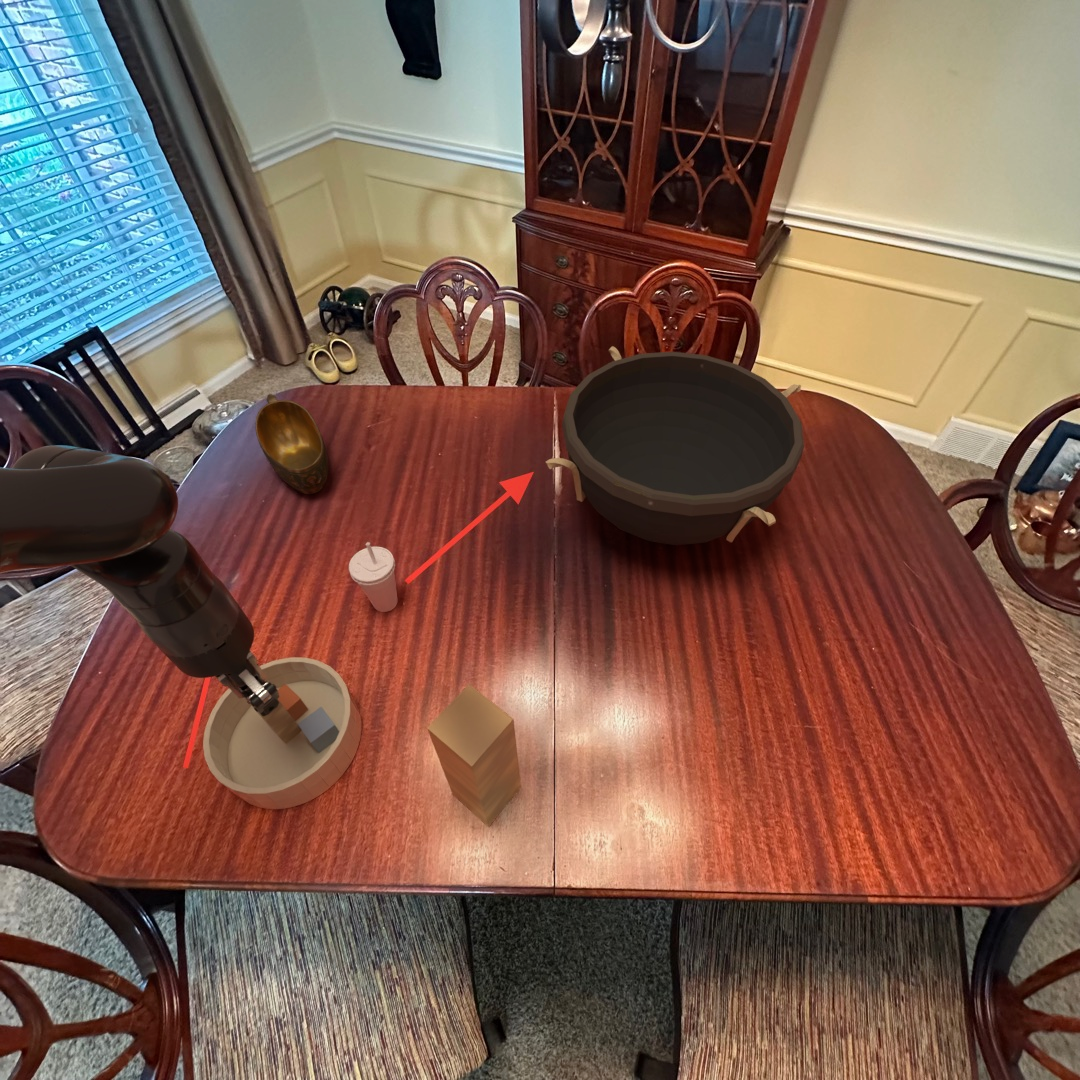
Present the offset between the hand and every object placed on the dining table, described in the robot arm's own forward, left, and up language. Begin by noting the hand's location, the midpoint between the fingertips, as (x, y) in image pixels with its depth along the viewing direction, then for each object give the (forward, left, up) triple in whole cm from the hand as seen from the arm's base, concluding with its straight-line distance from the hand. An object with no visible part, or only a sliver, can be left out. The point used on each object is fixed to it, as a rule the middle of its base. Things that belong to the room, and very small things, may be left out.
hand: (262, 700), depth 70 cm
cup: (+33, +42, -11) cm, 55 cm away
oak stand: (+11, -24, -11) cm, 29 cm away
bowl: (+65, -16, -11) cm, 68 cm away
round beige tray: (0, 0, -11) cm, 11 cm away
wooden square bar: (0, 0, -9) cm, 9 cm away
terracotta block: (+2, +3, -11) cm, 11 cm away
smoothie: (+22, +7, -11) cm, 26 cm away
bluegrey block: (+3, -3, -11) cm, 11 cm away
